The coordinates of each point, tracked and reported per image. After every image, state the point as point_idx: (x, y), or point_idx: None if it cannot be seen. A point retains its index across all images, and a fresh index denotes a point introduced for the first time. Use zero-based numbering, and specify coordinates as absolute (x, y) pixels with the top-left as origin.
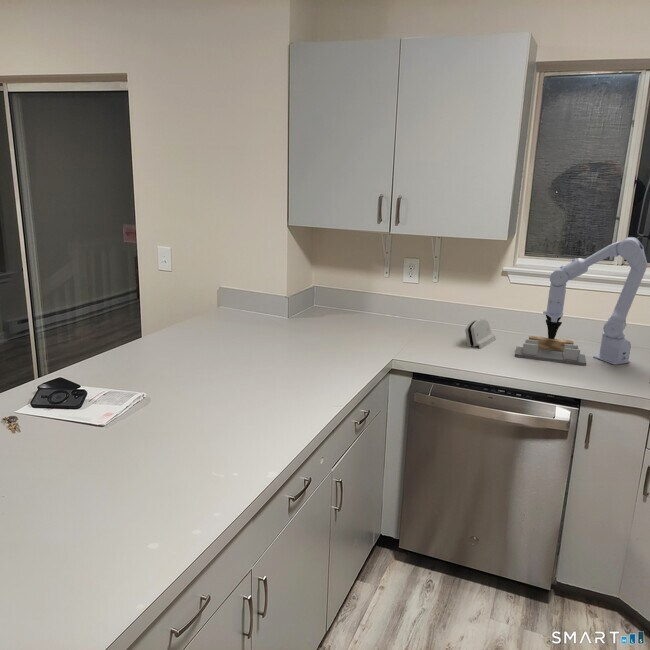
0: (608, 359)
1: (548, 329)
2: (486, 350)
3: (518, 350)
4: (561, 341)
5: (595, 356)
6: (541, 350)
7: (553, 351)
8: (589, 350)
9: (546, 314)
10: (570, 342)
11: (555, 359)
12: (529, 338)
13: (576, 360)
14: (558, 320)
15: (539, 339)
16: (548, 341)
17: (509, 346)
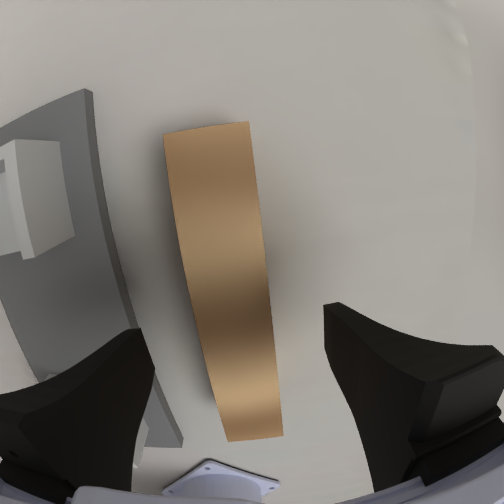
0: (183, 490)
1: (67, 376)
2: (18, 4)
3: (16, 133)
4: (220, 391)
5: (204, 467)
6: (89, 261)
7: (119, 330)
8: (314, 440)
9: (499, 364)
10: (232, 430)
11: (19, 340)
12: (166, 142)
13: None
14: (370, 467)
15: (178, 235)
16: (195, 307)
17: (129, 39)
